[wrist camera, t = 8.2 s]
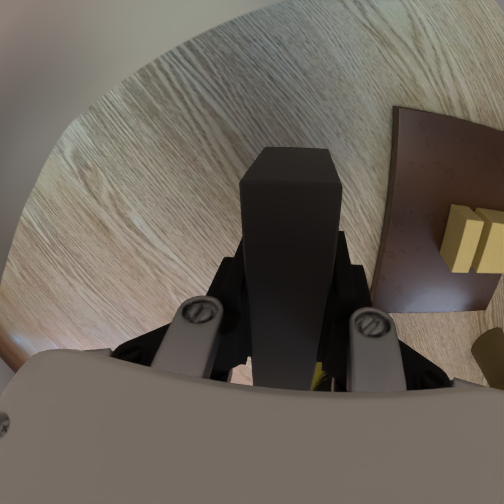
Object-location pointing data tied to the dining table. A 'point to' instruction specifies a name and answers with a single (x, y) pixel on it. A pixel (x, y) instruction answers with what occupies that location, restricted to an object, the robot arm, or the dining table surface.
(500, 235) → the butter stick
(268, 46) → the dining table surface
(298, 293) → the knife
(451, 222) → the butter slice
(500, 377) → the cork
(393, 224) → the cutting board
